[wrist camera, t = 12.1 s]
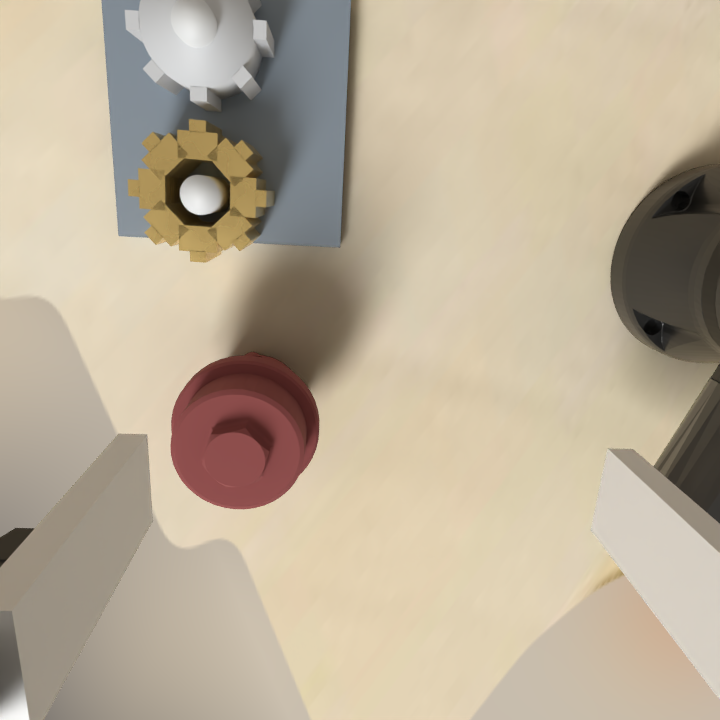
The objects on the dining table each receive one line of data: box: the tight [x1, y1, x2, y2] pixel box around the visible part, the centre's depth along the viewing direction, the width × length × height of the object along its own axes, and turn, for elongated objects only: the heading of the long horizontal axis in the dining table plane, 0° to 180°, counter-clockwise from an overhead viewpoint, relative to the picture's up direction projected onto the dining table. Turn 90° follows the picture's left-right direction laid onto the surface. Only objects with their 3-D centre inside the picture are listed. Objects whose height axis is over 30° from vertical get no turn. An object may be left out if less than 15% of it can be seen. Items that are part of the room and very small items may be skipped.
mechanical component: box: [171, 352, 319, 509], centre depth 39 cm, size 12×10×10 cm
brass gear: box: [128, 119, 275, 262], centre depth 36 cm, size 8×8×5 cm
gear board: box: [102, 0, 351, 247], centre depth 35 cm, size 16×17×7 cm
